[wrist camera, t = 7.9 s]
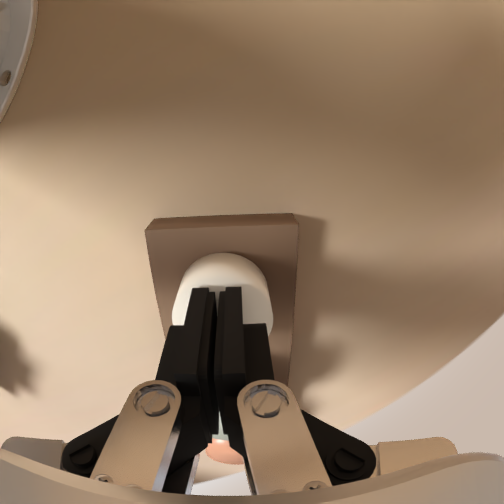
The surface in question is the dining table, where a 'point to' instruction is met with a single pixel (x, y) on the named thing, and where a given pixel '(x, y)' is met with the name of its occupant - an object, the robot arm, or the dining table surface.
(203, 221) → the button plate
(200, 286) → the cream button
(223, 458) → the terracotta button
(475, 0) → the dining table surface
